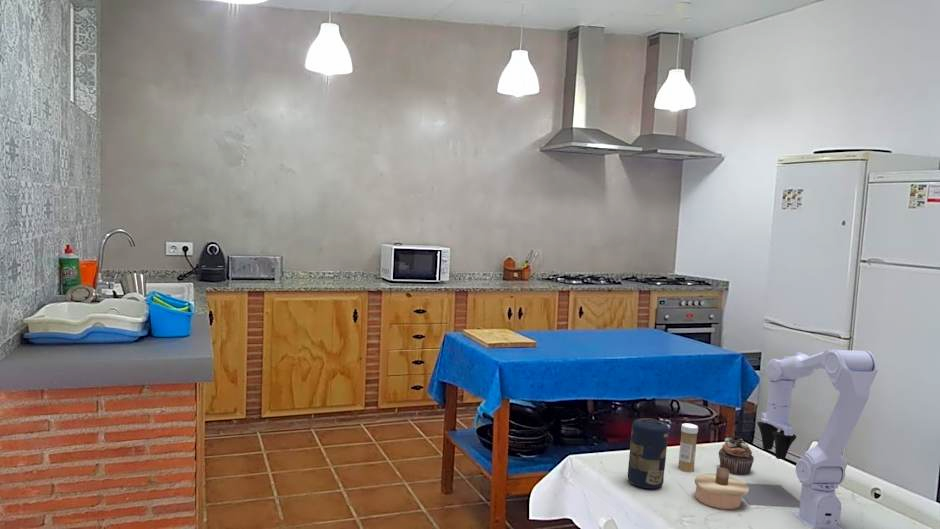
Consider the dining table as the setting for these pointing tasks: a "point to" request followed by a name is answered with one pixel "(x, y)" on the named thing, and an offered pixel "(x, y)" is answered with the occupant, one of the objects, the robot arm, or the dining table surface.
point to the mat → (770, 496)
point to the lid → (721, 483)
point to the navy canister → (647, 452)
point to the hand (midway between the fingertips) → (773, 453)
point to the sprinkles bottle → (687, 447)
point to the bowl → (718, 499)
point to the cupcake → (736, 456)
